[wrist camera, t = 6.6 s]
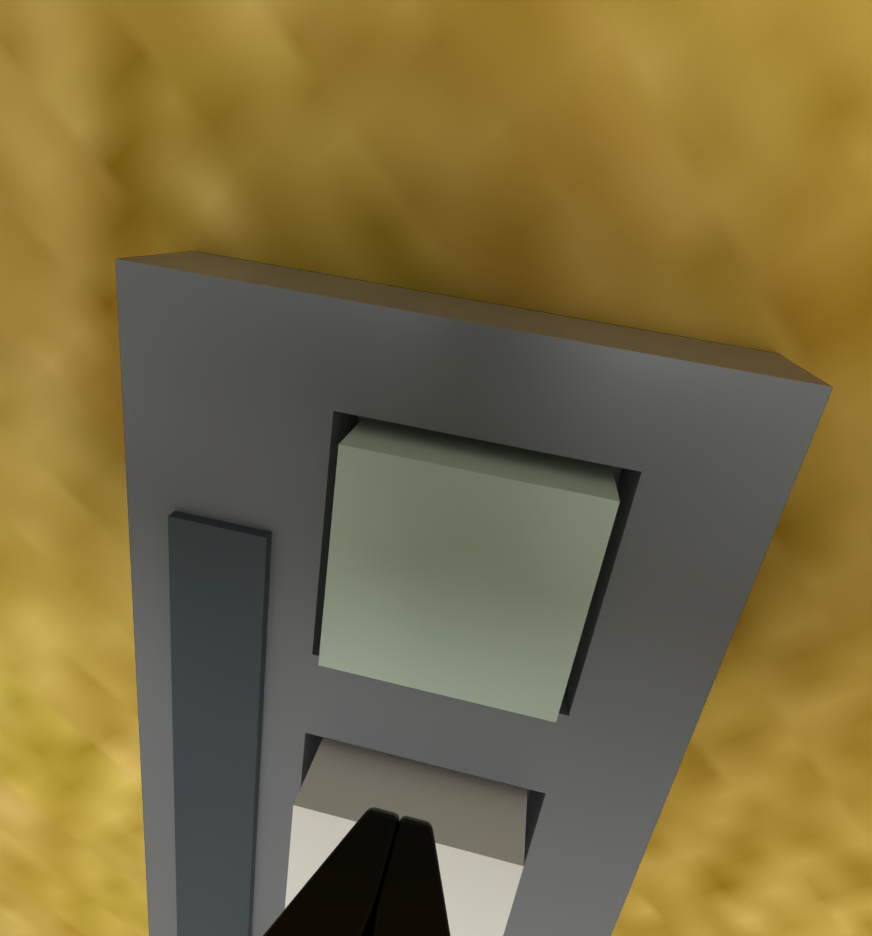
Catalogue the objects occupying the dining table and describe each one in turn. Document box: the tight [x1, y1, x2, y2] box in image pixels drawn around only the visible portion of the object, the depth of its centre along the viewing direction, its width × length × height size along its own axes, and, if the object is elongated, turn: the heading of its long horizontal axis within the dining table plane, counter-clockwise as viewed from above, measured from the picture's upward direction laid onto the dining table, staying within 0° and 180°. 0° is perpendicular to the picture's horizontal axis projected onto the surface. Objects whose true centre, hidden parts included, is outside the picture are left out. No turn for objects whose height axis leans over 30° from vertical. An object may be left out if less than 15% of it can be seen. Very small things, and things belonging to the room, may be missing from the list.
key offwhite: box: [285, 737, 527, 936], centre depth 17 cm, size 6×6×2 cm
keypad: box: [116, 251, 833, 936], centre depth 19 cm, size 14×29×3 cm, turn 171°
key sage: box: [318, 417, 620, 722], centre depth 15 cm, size 6×6×2 cm
